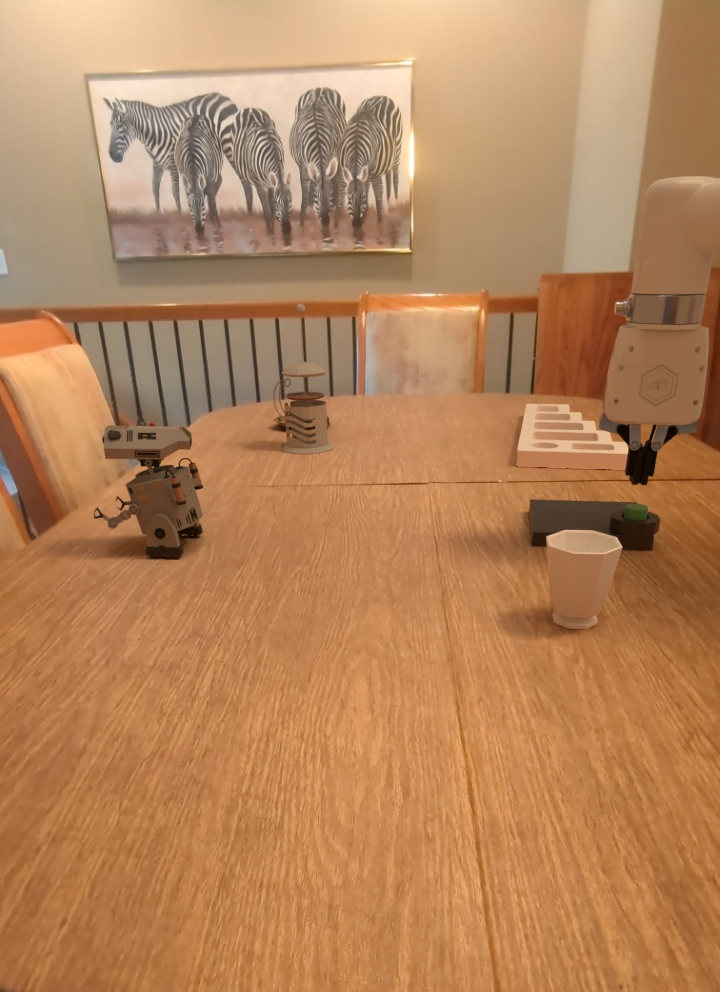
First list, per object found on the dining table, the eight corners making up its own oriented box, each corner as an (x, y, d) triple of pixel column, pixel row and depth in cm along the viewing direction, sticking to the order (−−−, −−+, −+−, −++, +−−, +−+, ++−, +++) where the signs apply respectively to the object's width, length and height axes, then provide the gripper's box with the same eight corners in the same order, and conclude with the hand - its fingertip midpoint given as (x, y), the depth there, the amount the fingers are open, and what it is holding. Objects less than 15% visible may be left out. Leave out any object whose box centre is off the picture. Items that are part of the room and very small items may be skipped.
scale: (640, 515, 102) (644, 490, 100) (658, 552, 89) (663, 524, 88) (528, 512, 104) (530, 487, 103) (531, 547, 92) (534, 520, 90)
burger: (272, 423, 165) (269, 387, 162) (325, 420, 167) (324, 385, 164) (276, 434, 155) (274, 396, 151) (333, 431, 156) (332, 393, 153)
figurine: (130, 533, 100) (110, 417, 93) (214, 535, 98) (201, 417, 92) (101, 558, 92) (77, 433, 85) (192, 560, 90) (175, 433, 84)
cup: (528, 626, 72) (535, 547, 69) (557, 589, 80) (564, 516, 76) (602, 641, 69) (614, 558, 66) (625, 601, 77) (636, 525, 73)
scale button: (644, 516, 92) (646, 503, 91) (648, 522, 89) (650, 510, 89) (622, 515, 92) (624, 503, 91) (625, 522, 90) (627, 509, 89)
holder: (525, 416, 166) (526, 403, 165) (611, 418, 162) (612, 405, 161) (515, 466, 127) (517, 450, 126) (628, 470, 123) (630, 454, 122)
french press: (314, 456, 137) (306, 305, 126) (263, 449, 142) (252, 305, 131) (343, 445, 144) (339, 302, 133) (294, 439, 150) (286, 301, 139)
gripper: (596, 315, 78) (574, 488, 87) (749, 315, 76) (712, 493, 84) (589, 310, 85) (570, 471, 93) (730, 310, 83) (697, 476, 91)
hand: (637, 481), depth 89 cm, fingers closed
